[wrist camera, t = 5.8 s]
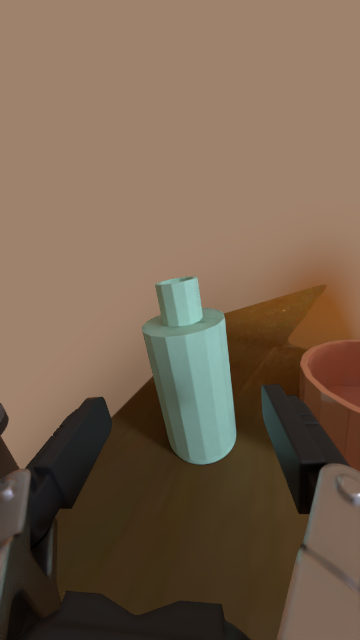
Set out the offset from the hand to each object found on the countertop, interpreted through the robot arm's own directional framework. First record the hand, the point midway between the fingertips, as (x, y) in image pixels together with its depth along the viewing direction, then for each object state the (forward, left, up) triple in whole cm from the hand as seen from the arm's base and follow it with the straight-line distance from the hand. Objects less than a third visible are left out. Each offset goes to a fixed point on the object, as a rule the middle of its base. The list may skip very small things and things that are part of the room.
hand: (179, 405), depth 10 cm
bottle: (+4, +5, -9) cm, 10 cm away
